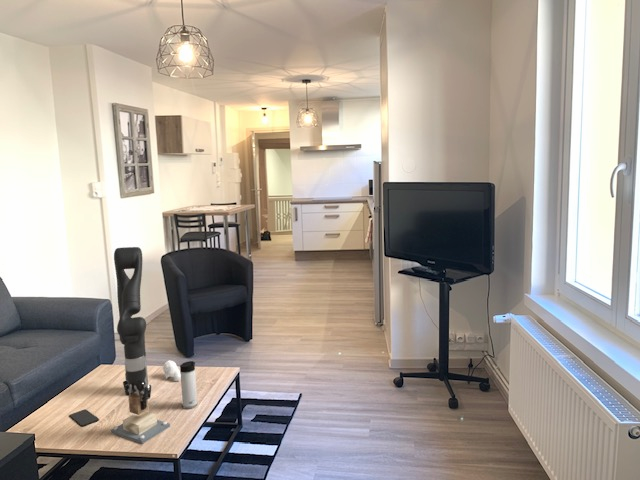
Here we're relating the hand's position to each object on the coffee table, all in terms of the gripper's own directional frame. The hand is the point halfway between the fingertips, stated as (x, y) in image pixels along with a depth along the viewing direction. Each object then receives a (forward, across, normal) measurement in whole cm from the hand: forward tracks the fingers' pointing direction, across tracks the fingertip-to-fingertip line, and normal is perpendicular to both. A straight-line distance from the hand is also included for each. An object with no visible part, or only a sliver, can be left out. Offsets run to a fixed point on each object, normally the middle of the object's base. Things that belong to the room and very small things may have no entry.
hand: (138, 407), depth 191 cm
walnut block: (+1, 0, 0) cm, 1 cm away
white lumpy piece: (+10, -24, +42) cm, 49 cm away
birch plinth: (+8, 0, 0) cm, 8 cm away
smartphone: (+10, -30, -4) cm, 32 cm away
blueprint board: (+10, 0, 0) cm, 10 cm away
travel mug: (+10, +4, +24) cm, 26 cm away
